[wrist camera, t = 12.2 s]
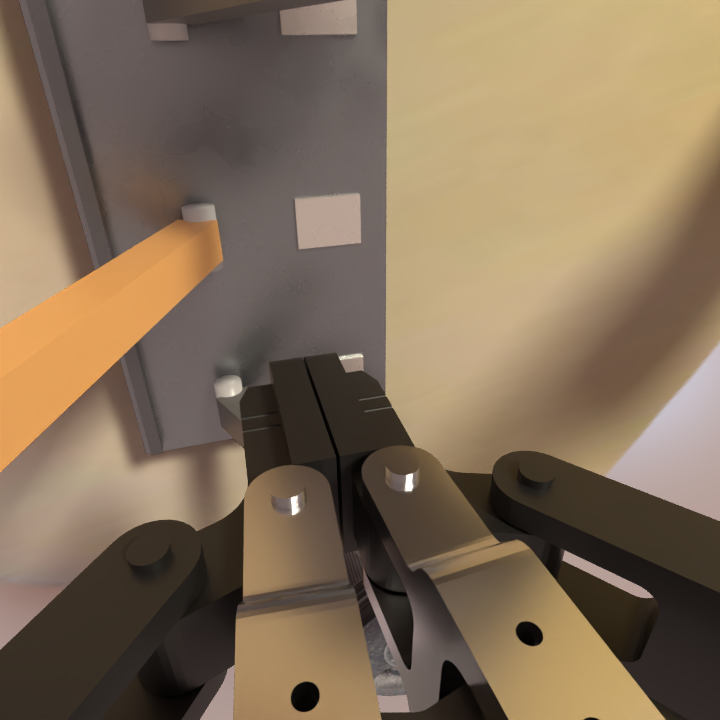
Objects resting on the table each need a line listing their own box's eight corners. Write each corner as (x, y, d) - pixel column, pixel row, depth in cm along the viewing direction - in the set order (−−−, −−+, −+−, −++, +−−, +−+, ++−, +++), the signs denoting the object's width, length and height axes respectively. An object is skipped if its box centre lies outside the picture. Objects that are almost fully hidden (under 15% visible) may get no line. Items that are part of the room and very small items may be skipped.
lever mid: (223, 203, 23) (-267, 531, 7) (231, 263, 25) (-159, 657, 8) (184, 202, 23) (-384, 521, 7) (195, 262, 25) (-258, 647, 8)
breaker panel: (366, -74, 23) (394, -98, 20) (371, 386, 35) (389, 418, 31) (13, -89, 20) (-22, -120, 17) (150, 423, 32) (145, 463, 28)
